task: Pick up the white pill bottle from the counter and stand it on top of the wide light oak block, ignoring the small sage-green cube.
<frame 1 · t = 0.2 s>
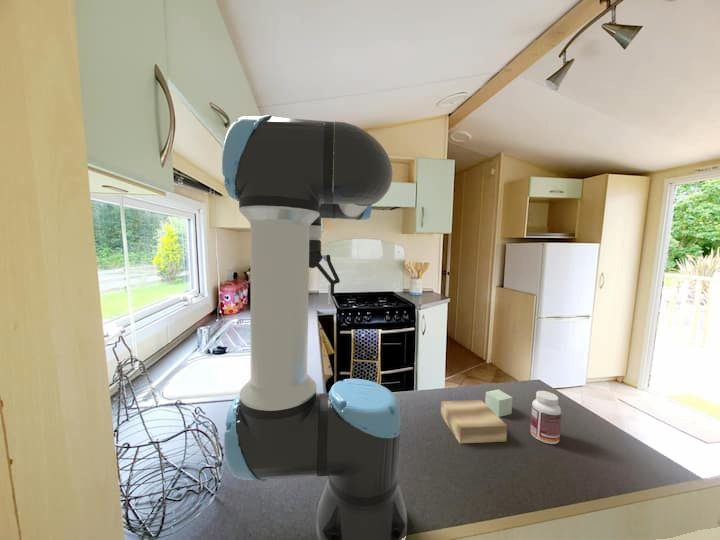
hand: (308, 303, 93), 28 cm above the table, fingers open, 13 cm apart
pill bottle: (544, 437, 72), on the table
oak block: (471, 427, 75), on the table
sage cube: (497, 411, 83), on the table
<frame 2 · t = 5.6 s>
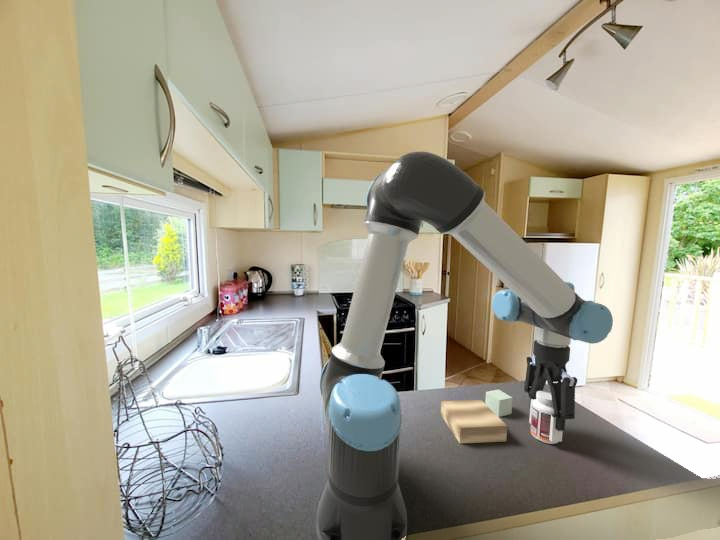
hand: (544, 431, 71), 1 cm above the table, fingers closed on pill bottle, 6 cm apart
pill bottle: (544, 437, 72), on the table, touching gripper
everything else where it was.
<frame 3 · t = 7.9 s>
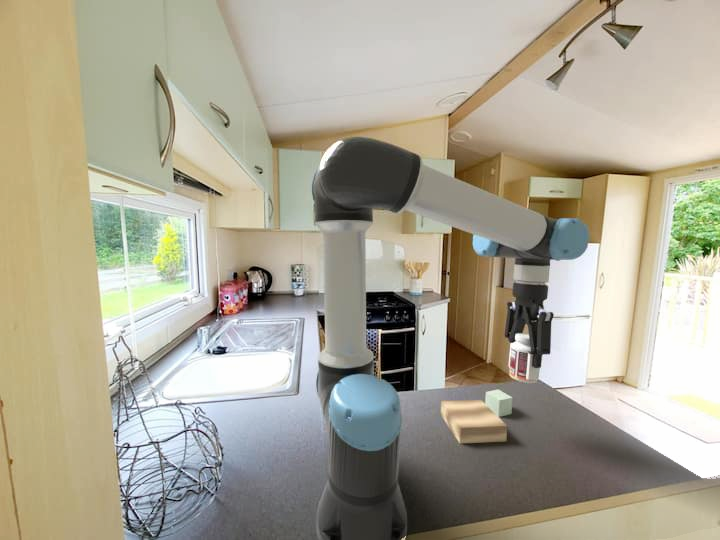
hand: (522, 372, 71), 16 cm above the table, fingers closed on pill bottle, 6 cm apart
pill bottle: (522, 379, 71), point 15 cm above the table, touching gripper
everything else where it was.
when the fingers open (6 cm above the table, at t = 10.5 s): pill bottle stays where it is, resting on oak block.
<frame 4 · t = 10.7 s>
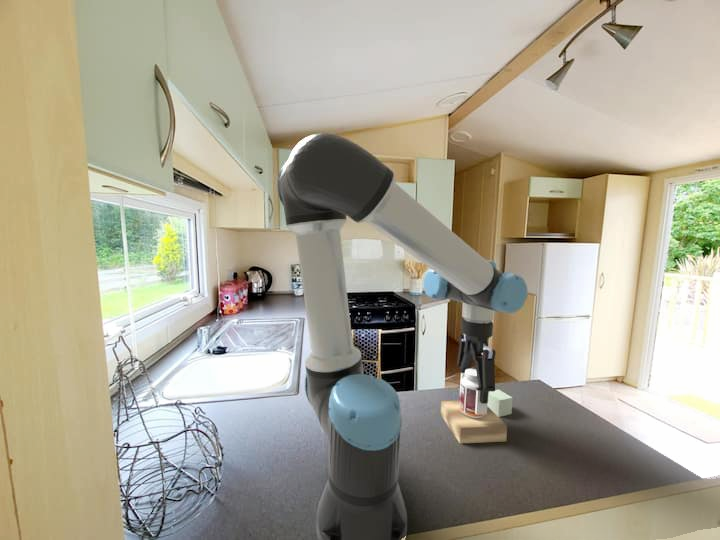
hand: (472, 404, 74), 6 cm above the table, fingers open, 8 cm apart
pill bottle: (471, 413, 74), point 4 cm above the table, touching oak block
everything else where it was.
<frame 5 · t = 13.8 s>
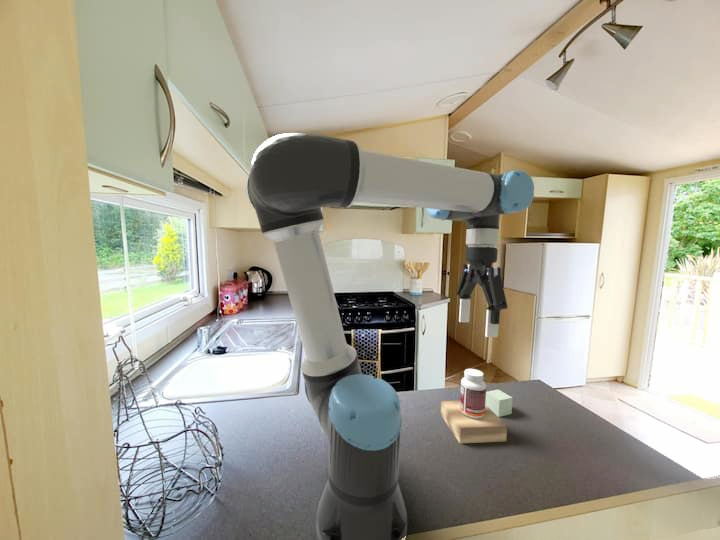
hand: (476, 328, 73), 27 cm above the table, fingers open, 13 cm apart
nothing on the table moved.
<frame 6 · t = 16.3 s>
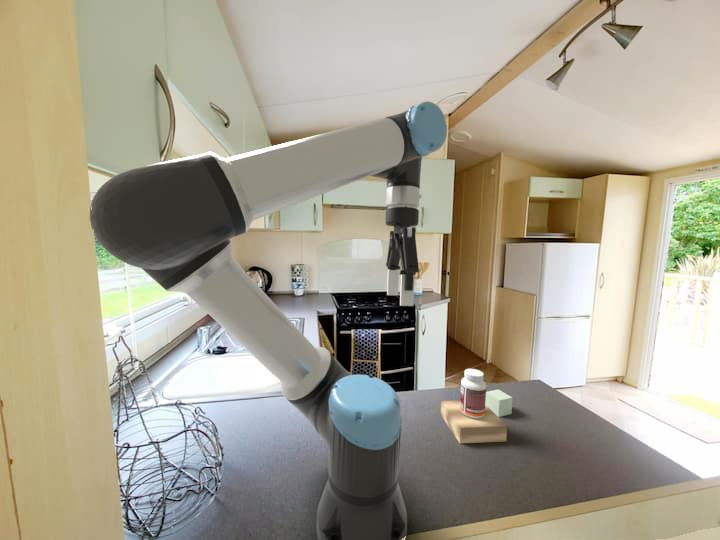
hand: (398, 299, 66), 35 cm above the table, fingers open, 13 cm apart
nothing on the table moved.
at the end: pill bottle inside the target area on the oak block (0.0 cm from its centre), point 3.8 cm above the oak block's base; pill bottle tilted 0°; the gripper is holding nothing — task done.
